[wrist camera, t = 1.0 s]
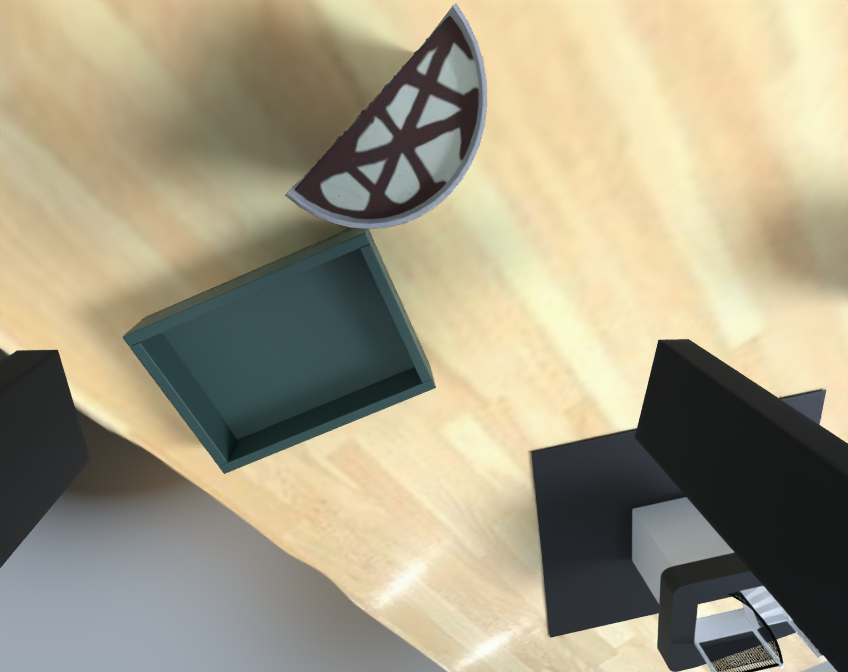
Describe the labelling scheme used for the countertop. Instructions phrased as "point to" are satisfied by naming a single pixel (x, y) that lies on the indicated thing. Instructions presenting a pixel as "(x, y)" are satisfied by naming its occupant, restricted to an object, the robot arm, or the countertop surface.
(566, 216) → the countertop surface
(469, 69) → the food container
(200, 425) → the tray
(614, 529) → the black-topped pedestal
